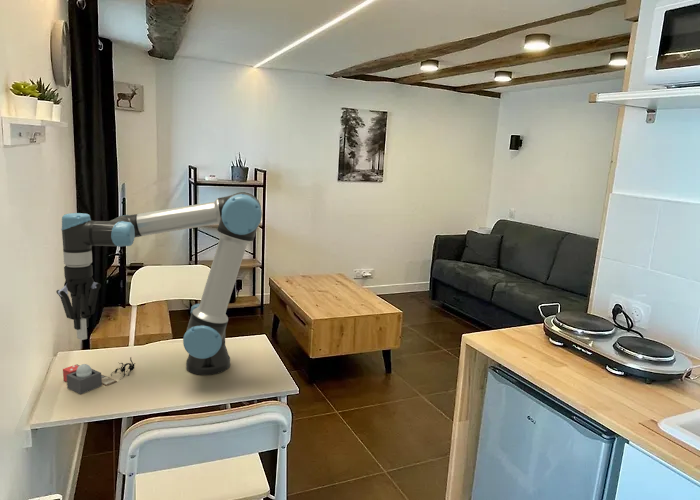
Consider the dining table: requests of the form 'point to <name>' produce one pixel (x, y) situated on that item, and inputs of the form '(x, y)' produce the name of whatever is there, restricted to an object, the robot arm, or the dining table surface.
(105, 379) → the track strip
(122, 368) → the creature
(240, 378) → the dining table surface
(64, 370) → the red die
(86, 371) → the dome
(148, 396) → the dining table surface
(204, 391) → the dining table surface
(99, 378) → the dome housing
